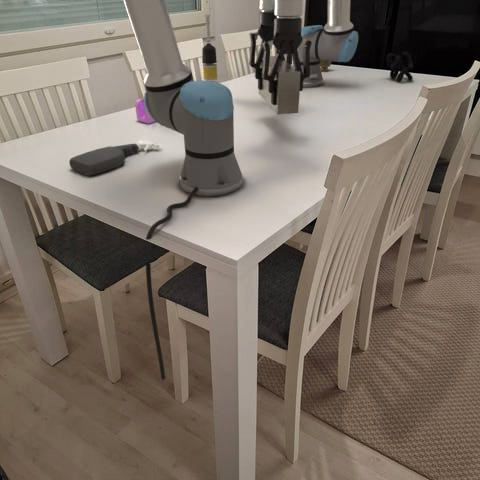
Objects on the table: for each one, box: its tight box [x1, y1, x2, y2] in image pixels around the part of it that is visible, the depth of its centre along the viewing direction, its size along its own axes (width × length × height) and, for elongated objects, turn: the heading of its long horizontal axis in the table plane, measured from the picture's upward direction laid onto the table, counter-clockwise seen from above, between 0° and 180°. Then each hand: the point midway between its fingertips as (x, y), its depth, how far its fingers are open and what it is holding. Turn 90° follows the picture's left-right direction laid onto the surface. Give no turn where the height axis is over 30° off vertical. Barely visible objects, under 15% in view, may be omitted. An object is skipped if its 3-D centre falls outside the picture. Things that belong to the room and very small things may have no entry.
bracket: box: [134, 98, 156, 124], centre depth 156 cm, size 13×6×7 cm, turn 143°
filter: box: [201, 14, 219, 83], centre depth 171 cm, size 6×6×30 cm
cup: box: [320, 60, 333, 72], centre depth 218 cm, size 8×7×8 cm
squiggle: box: [385, 51, 414, 83], centre depth 198 cm, size 11×10×15 cm
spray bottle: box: [68, 139, 160, 177], centre depth 124 cm, size 3×11×24 cm
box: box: [258, 55, 300, 116], centre depth 138 cm, size 26×6×12 cm, turn 10°
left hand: (284, 102), depth 133 cm, fingers closed on box, 6 cm apart
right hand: (270, 88), depth 148 cm, fingers closed on box, 6 cm apart
